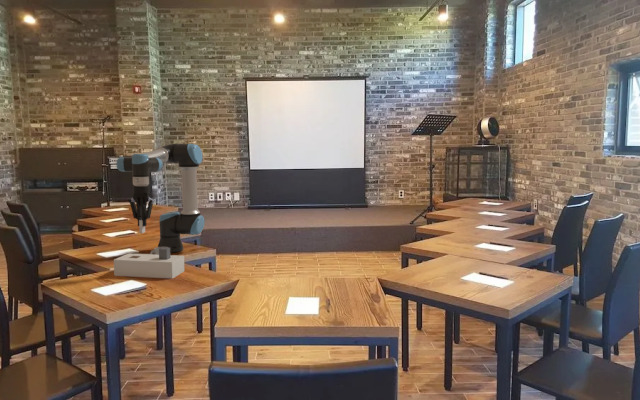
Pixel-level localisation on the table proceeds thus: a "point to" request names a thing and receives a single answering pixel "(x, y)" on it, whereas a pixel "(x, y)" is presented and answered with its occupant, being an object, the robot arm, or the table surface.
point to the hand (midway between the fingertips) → (142, 232)
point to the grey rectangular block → (148, 266)
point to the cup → (156, 250)
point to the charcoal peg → (164, 253)
